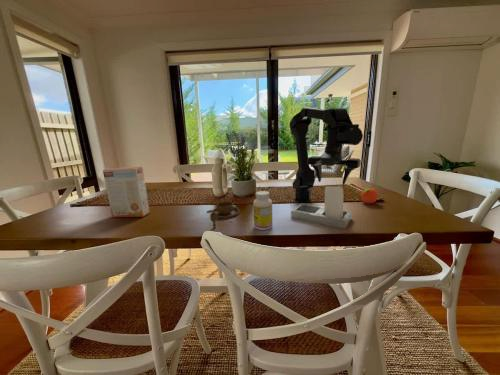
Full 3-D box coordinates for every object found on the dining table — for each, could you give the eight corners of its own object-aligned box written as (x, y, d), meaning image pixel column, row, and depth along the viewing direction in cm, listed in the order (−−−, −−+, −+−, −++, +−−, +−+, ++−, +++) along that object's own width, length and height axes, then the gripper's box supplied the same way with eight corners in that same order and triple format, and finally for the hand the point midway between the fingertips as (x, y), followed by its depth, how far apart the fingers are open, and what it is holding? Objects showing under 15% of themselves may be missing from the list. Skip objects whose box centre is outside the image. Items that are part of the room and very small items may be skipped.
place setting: (250, 214, 92) (250, 201, 91) (215, 232, 77) (214, 216, 76) (221, 207, 103) (220, 195, 102) (186, 221, 88) (184, 207, 87)
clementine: (369, 207, 94) (370, 191, 92) (355, 202, 100) (356, 188, 98) (380, 203, 98) (382, 188, 96) (366, 199, 104) (367, 185, 102)
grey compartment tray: (291, 217, 86) (291, 210, 85) (301, 209, 94) (301, 203, 93) (344, 229, 74) (345, 220, 74) (351, 218, 83) (351, 211, 82)
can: (344, 219, 78) (345, 186, 77) (325, 218, 79) (326, 186, 78) (340, 215, 84) (341, 184, 83) (323, 215, 85) (323, 185, 85)
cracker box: (150, 212, 98) (143, 166, 92) (143, 217, 92) (135, 168, 87) (120, 212, 99) (111, 167, 93) (111, 217, 93) (101, 169, 88)
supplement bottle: (253, 223, 81) (252, 190, 78) (270, 222, 82) (270, 189, 79) (255, 231, 75) (254, 195, 72) (274, 230, 76) (273, 194, 72)
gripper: (302, 144, 81) (300, 184, 85) (356, 146, 71) (351, 191, 75) (313, 142, 90) (311, 178, 94) (363, 143, 79) (358, 184, 83)
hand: (331, 183), depth 86 cm, fingers open, 9 cm apart
